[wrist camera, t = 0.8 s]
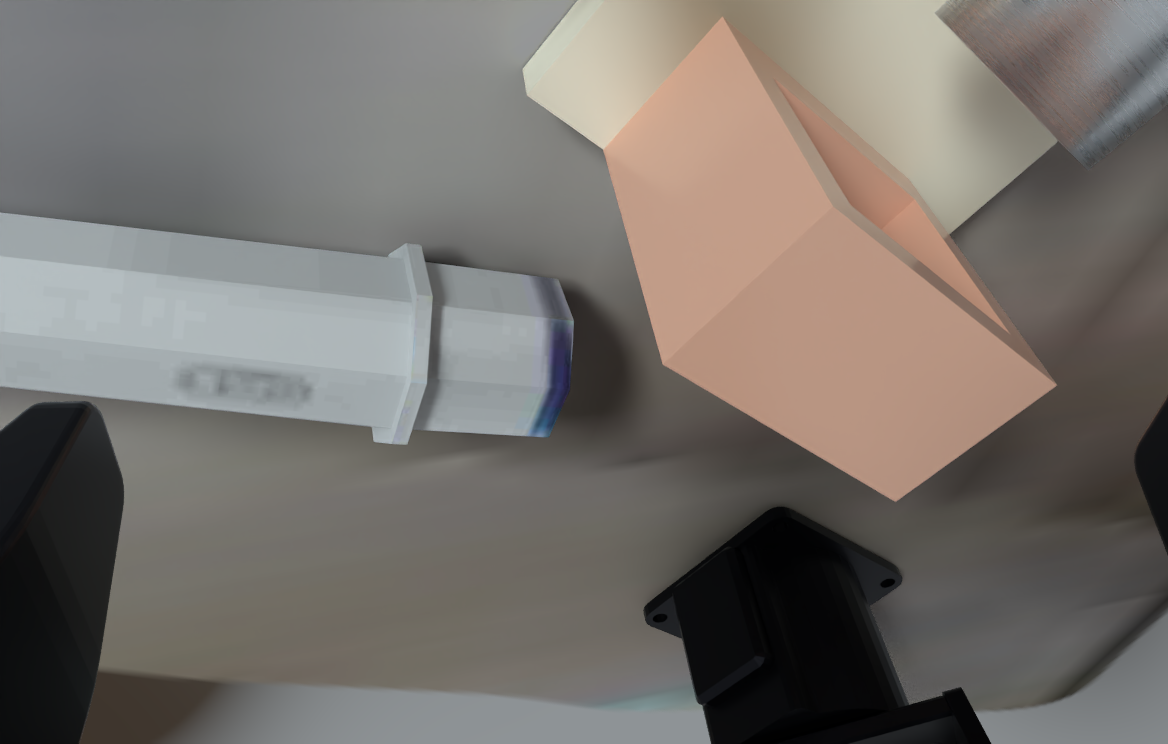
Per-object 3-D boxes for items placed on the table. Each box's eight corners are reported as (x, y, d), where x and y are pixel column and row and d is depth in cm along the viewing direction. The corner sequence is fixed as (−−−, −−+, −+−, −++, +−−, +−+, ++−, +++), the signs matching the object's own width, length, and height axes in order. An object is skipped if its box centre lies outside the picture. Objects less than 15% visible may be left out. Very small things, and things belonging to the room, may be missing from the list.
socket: (721, 16, 19) (833, 206, 14) (909, 179, 22) (1057, 384, 17) (603, 149, 20) (662, 364, 15) (793, 284, 23) (895, 501, 18)
